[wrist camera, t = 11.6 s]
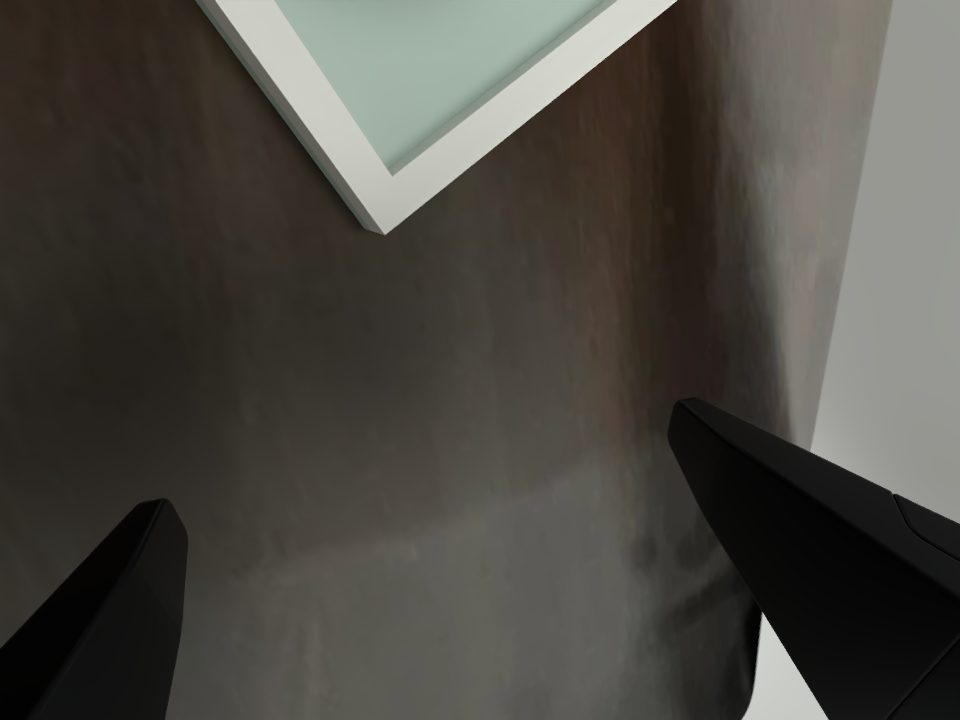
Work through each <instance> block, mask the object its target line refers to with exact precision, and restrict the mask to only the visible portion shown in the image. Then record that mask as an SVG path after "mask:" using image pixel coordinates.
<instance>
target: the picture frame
mask: <svg viewBox="0 0 960 720" xmlns="http://www.w3.org/2000/svg"><path fill="white" fill-rule="evenodd" d="M195 1H196V2H197V4H198V5H199V6H200V8H201V9H202V10H203V12H204V13H205V14H206V16H207V17H208V18H209V20H210V21H211V23H212V24H213V25H214V27H215V28H216V29H217V31H218V32H219V33H220V35H221V36H222V37H223V39H224V40H225V41H226V43H227V44H228V45H229V47H230V48H231V49H232V51H233V52H234V54H235V55H236V56H237V58H238V59H239V60H240V62H241V63H242V64H243V66H244V67H245V68H246V70H247V71H248V72H249V74H250V75H251V76H252V78H253V79H254V80H255V82H256V83H257V85H258V86H259V87H260V89H261V90H262V91H263V93H264V94H265V95H266V97H267V98H268V99H269V101H270V102H271V103H272V105H273V106H274V107H275V109H276V110H277V112H278V113H279V114H280V116H281V117H282V118H283V120H284V121H285V122H286V124H287V125H288V126H289V128H290V129H291V130H292V132H293V133H294V134H295V136H296V137H297V138H298V140H299V141H300V143H301V144H302V145H303V147H304V148H305V149H306V151H307V152H308V153H309V155H310V156H311V157H312V159H313V160H314V161H315V163H316V164H317V165H318V167H319V168H320V170H321V171H322V172H323V174H324V175H325V176H326V178H327V179H328V180H329V182H330V183H331V184H332V186H333V187H334V188H335V190H336V191H337V192H338V194H339V195H340V196H341V198H342V199H343V201H344V202H345V203H346V205H347V206H348V207H349V209H350V210H351V211H352V213H353V214H354V215H355V217H356V218H357V219H358V221H359V222H360V223H361V225H362V226H363V227H364V229H367V230H370V231H373V232H376V233H379V234H383V235H386V234H387V233H388V232H390V231H391V230H392V229H393V228H395V227H396V226H397V225H398V224H400V223H401V222H402V221H403V220H405V219H406V218H407V217H408V216H410V215H411V214H412V213H413V212H414V211H416V210H417V209H418V208H419V207H421V206H422V205H423V204H424V203H426V202H427V201H428V200H429V199H431V198H432V197H433V196H434V195H436V194H437V193H438V192H439V191H441V190H442V189H443V188H444V187H446V186H447V185H448V184H449V183H451V182H452V181H453V180H454V179H456V178H457V177H458V176H459V175H461V174H462V173H463V172H464V171H465V170H467V169H468V168H469V167H470V166H472V165H473V164H474V163H475V162H477V161H478V160H479V159H480V158H482V157H483V156H484V155H485V154H487V153H488V152H489V151H490V150H492V149H493V148H494V147H495V146H497V145H498V144H499V143H500V142H502V141H503V140H504V139H505V138H507V137H508V136H509V135H510V134H512V133H513V132H514V131H515V130H517V129H518V128H519V127H520V126H521V125H523V124H524V123H525V122H526V121H528V120H529V119H530V118H531V117H533V116H534V115H535V114H536V113H538V112H539V111H540V110H541V109H543V108H544V107H545V106H546V105H548V104H549V103H550V102H551V101H553V100H554V99H555V98H556V97H558V96H559V95H560V94H561V93H563V92H564V91H565V90H566V89H568V88H569V87H570V86H571V85H573V84H574V83H575V82H576V81H577V80H579V79H580V78H581V77H582V76H584V75H585V74H586V73H587V72H589V71H590V70H591V69H592V68H594V67H595V66H596V65H597V64H599V63H600V62H601V61H602V60H604V59H605V58H606V57H607V56H609V55H610V54H611V53H612V52H614V51H615V50H616V49H617V48H619V47H620V46H621V45H622V44H624V43H625V42H626V41H627V40H629V39H630V38H631V37H632V36H633V35H635V34H636V33H637V32H638V31H640V30H641V29H642V28H643V27H645V26H646V25H647V24H648V23H650V22H651V21H652V20H653V19H655V18H656V17H657V16H658V15H660V14H661V13H662V12H663V11H665V10H666V9H667V8H668V7H670V6H671V5H672V4H673V3H675V2H676V1H677V0H195Z"/></svg>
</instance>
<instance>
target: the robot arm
mask: <svg viewBox="0 0 960 720" xmlns="http://www.w3.org/2000/svg"><path fill="white" fill-rule="evenodd" d="M667 437H668V442H669V445H670V447H671V449H672V451H673V453H674V455H675V458H676V460H677V462H678V464H679V466H680V468H681V470H682V472H683V474H684V477H685V479H686V481H687V483H688V485H689V487H690V489H691V491H692V493H693V495H694V498H695V500H696V502H697V504H698V506H699V508H700V510H701V512H702V513H703V515H704V517H705V519H706V520H707V522H708V524H709V525H710V527H711V529H712V530H713V532H714V534H715V535H716V537H717V538H718V540H719V542H720V543H721V545H722V547H723V548H724V550H725V551H726V553H727V555H728V556H729V558H730V560H731V561H732V563H733V564H734V566H735V568H736V569H737V571H738V573H739V574H740V576H741V578H742V579H743V581H744V582H745V584H746V586H747V587H748V589H749V591H750V592H751V594H752V595H753V597H754V599H755V600H756V602H757V604H758V605H759V607H760V609H761V610H762V612H763V613H764V615H765V617H766V618H767V620H768V621H769V623H770V625H771V626H772V628H773V630H774V631H775V633H776V634H777V636H778V638H779V639H780V641H781V643H782V644H783V646H784V648H785V649H786V651H787V652H788V654H789V656H790V657H791V659H792V661H793V662H794V664H795V666H796V667H797V669H798V670H799V672H800V674H801V675H802V677H803V679H804V680H805V682H806V683H807V685H808V687H809V688H810V690H811V692H812V693H813V695H814V696H815V698H816V700H817V701H818V703H819V705H820V706H821V708H822V710H823V711H824V713H825V714H826V716H827V718H828V719H829V720H960V524H959V523H957V522H955V521H952V520H950V519H948V518H946V517H944V516H942V515H940V514H938V513H935V512H933V511H931V510H929V509H927V508H925V507H923V506H920V505H918V504H916V503H914V502H912V501H910V500H908V499H906V498H904V497H902V496H900V495H898V494H892V492H891V491H889V490H887V489H885V488H883V487H881V486H879V485H877V484H875V483H873V482H871V481H869V480H867V479H865V478H863V477H861V476H858V475H856V474H854V473H852V472H850V471H848V470H846V469H844V468H842V467H840V466H838V465H836V464H834V463H832V462H829V461H828V460H826V459H823V458H821V457H819V456H817V455H815V454H813V453H811V452H809V451H807V450H805V449H803V448H801V447H799V446H797V445H795V444H793V443H791V442H789V441H787V440H784V439H782V438H780V437H778V436H776V435H774V434H772V433H770V432H768V431H766V430H764V429H762V428H760V427H758V426H756V425H754V424H752V423H749V422H747V421H745V420H743V419H741V418H739V417H737V416H735V415H733V414H731V413H729V412H727V411H725V410H723V409H721V408H719V407H717V406H715V405H712V404H710V403H708V402H706V401H704V400H702V399H700V398H697V397H693V398H687V399H682V400H678V401H676V402H675V404H674V405H673V409H672V414H671V418H670V423H669V427H668V433H667ZM187 551H188V536H187V532H186V529H185V527H184V525H183V523H182V521H181V519H180V518H179V516H178V514H177V512H176V510H175V508H174V507H173V505H172V503H171V502H170V501H169V500H168V499H165V498H161V499H156V500H151V501H145V502H142V503H139V504H138V505H136V506H135V507H134V508H133V509H132V510H131V511H130V512H129V513H128V515H127V516H126V517H125V518H124V519H123V520H122V521H121V522H120V523H119V524H118V525H117V526H116V527H115V528H114V529H113V530H112V531H111V532H110V533H109V535H108V536H107V537H106V538H105V539H104V540H103V541H102V542H101V543H100V544H99V545H98V546H97V547H96V548H95V549H94V550H93V551H92V552H91V554H90V555H89V556H88V557H87V558H86V559H85V560H84V561H83V562H82V563H81V564H80V565H79V566H78V567H77V568H76V569H75V570H74V571H73V572H72V574H71V575H70V576H69V577H68V578H67V579H66V580H65V581H64V582H63V583H62V584H61V585H60V586H59V587H58V588H57V589H56V590H55V591H54V593H53V594H52V595H51V596H50V597H49V598H48V599H47V600H46V601H45V602H44V603H43V604H42V605H41V606H40V607H39V608H38V609H37V610H36V611H35V613H34V614H33V615H32V616H31V617H30V618H29V619H28V620H27V621H26V622H25V623H24V624H23V625H22V626H21V627H20V628H19V629H18V630H17V632H16V633H15V634H14V635H13V636H12V637H11V638H10V639H9V640H8V641H7V642H6V643H5V644H4V645H3V646H2V647H1V648H0V720H165V716H166V711H167V705H168V700H169V695H170V690H171V685H172V680H173V674H174V669H175V664H176V659H177V654H178V649H179V643H180V636H181V629H182V619H183V606H184V592H185V578H186V564H187Z"/></svg>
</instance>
